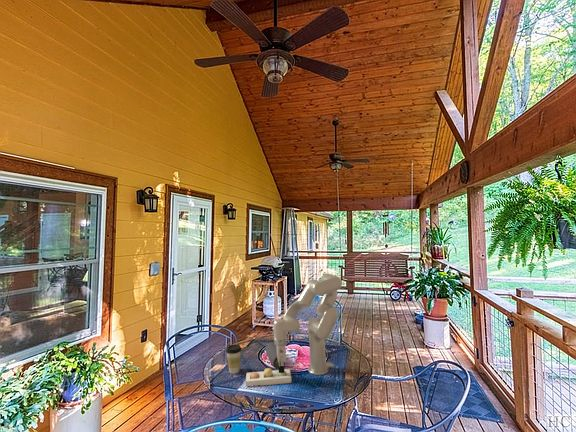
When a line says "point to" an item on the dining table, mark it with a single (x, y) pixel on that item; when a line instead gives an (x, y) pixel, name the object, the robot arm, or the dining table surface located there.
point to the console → (268, 378)
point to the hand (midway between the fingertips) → (281, 372)
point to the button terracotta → (254, 375)
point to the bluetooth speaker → (272, 355)
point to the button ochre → (268, 372)
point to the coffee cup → (234, 358)
